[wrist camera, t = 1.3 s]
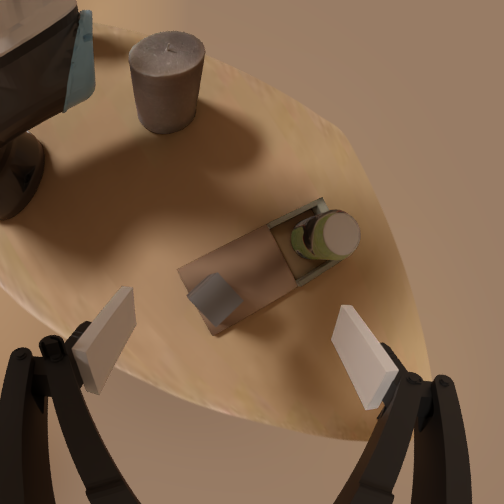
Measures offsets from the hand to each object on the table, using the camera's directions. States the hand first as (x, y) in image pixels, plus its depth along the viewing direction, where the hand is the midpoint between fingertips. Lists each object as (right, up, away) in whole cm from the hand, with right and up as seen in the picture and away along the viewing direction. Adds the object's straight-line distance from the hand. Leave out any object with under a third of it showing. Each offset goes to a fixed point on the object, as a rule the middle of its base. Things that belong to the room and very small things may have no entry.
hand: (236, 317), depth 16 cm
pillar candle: (-13, +27, +22) cm, 37 cm away
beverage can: (+9, +5, +25) cm, 27 cm away
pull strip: (+3, +2, +23) cm, 23 cm away
